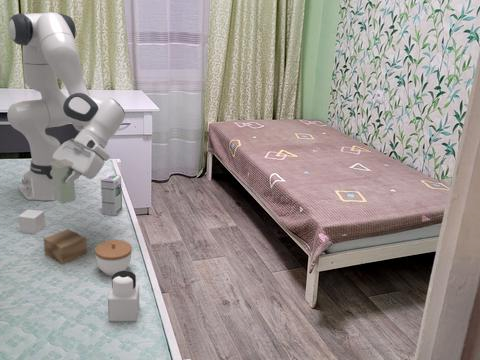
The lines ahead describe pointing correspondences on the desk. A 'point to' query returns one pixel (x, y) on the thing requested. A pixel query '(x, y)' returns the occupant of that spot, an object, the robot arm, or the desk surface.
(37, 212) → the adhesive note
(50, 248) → the walnut block
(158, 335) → the desk surface
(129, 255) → the lidded jar
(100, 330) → the desk surface
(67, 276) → the desk surface
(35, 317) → the desk surface
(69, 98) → the robot arm
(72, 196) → the tea tin
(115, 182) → the syrup box
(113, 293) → the medicine bottle
